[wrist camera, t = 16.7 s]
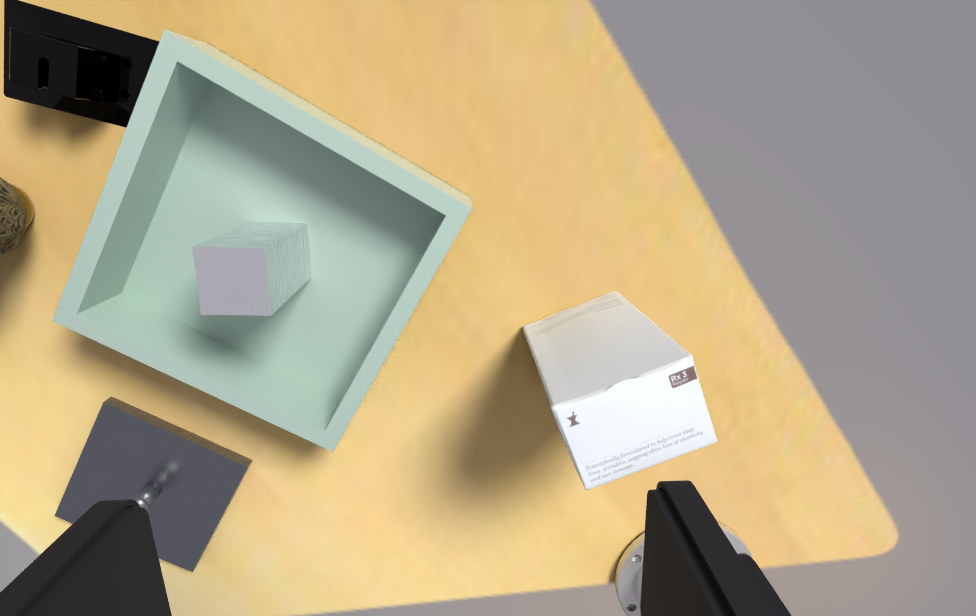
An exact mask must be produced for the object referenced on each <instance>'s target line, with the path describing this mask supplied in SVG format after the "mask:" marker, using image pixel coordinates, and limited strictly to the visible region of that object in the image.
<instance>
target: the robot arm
mask: <svg viewBox="0 0 976 616" xmlns="http://www.w3.org/2000/svg"><path fill="white" fill-rule="evenodd" d="M615 585H616V592H617V595H618V598H619V601H620V604H621V606H622V608H623V610H624V612H625V613H626V614H627V615H628V616H791V614H790V613H789V611H788V610H787V608H786V607H785V606H784V604H783V602H782V601H781V600H780V598H779V596H778V595H777V593H776V592H775V591H774V589H773V587H772V586H771V584H770V583H769V582H768V580H767V578H766V577H765V575H764V574H763V573H762V571H761V569H760V568H759V567H758V565H757V564H756V562H755V561H754V560H753V559H752V555H751V553H750V552H749V550H748V548H747V547H746V545H745V543H744V542H743V541H742V540H741V538H740V537H739V536H738V535H737V534H736V533H735V532H734V531H732V530H731V529H730V528H728V527H726V526H724V525H722V524H720V523H718V522H717V521H716V519H715V518H714V516H713V515H712V513H711V511H710V510H709V508H708V507H707V505H706V504H705V502H704V500H703V499H702V497H701V496H700V494H699V493H698V491H697V490H696V488H695V486H694V485H693V484H692V482H691V481H660V482H659V483H658V485H657V489H656V490H649V491H648V494H647V506H646V521H645V532H644V533H643V534H642V535H640V536H639V537H638V538H637V539H636V540H634V541H633V542H632V543H631V545H630V546H629V547H628V548H627V549H626V550H625V552H624V554H623V556H622V557H621V559H620V561H619V564H618V567H617V570H616V577H615ZM0 616H172V615H171V611H170V607H169V602H168V598H167V594H166V589H165V585H164V580H163V576H162V572H161V567H160V563H159V558H158V554H157V550H156V545H155V541H154V537H153V532H152V528H151V523H150V519H149V515H148V512H147V510H146V509H145V508H143V507H140V506H139V504H138V503H137V501H135V500H132V499H128V500H102V501H98V502H97V503H95V504H94V505H93V506H92V507H91V508H89V509H88V510H87V511H86V512H85V513H84V514H83V515H82V516H81V517H80V518H79V519H78V520H77V521H76V522H75V523H74V524H72V525H71V526H70V527H69V528H68V529H67V530H66V531H65V532H64V533H63V534H62V535H61V536H60V537H59V538H58V539H57V540H56V541H54V542H53V543H52V544H51V545H50V546H49V547H48V548H47V549H46V550H45V551H44V552H43V553H42V554H41V555H40V556H39V557H38V558H37V559H36V560H34V561H33V563H31V564H30V565H29V566H28V567H27V568H26V569H25V570H24V571H23V572H22V573H21V574H20V575H18V576H17V577H16V578H15V579H14V580H13V581H12V582H11V583H10V584H9V585H8V586H7V587H6V588H5V589H4V590H3V591H2V592H0Z"/></svg>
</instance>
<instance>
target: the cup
mask: <svg viewBox="0 0 976 616" xmlns="http://www.w3.org/2000/svg"><path fill="white" fill-rule="evenodd" d="M33 215H34V209H33V205H32V202H31V200H30V198H29V197H28V196H27V194H26V193H25V192H24V191H22V190H21V189H20V188H18V187H16V186H14V185H12V184H10V183H7V182H6V181H5V180H4V179H2V178H1V177H0V258H1V257H3V256H5V255H6V254H8V253H9V252H10V251H12V250H13V249H14V248H15V247H16V246H17V245H18V244H19V243H20V241H21V240H22V238H23V236H24V234H25V231H26V227H27V226H28V225H29V224H30V223H31V221H32V219H33Z"/></svg>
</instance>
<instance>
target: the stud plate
mask: <svg viewBox="0 0 976 616" xmlns="http://www.w3.org/2000/svg"><path fill="white" fill-rule="evenodd" d="M251 462H252V460H251V459H248V458H246V457H244V456H242V455H239V454H237V453H235V452H233V451H231V450H228V449H226V448H224V447H222V446H220V445H217V444H215V443H213V442H211V441H208V440H206V439H204V438H202V437H200V436H197V435H195V434H193V433H191V432H188V431H186V430H184V429H182V428H180V427H177V426H175V425H173V424H171V423H169V422H166V421H164V420H162V419H160V418H157V417H155V416H153V415H151V414H149V413H146V412H144V411H142V410H140V409H138V408H135V407H133V406H131V405H129V404H126V403H124V402H122V401H120V400H118V399H115V398H113V397H110V398H109V399H107V400H106V401H105V402H103V405H102V407H101V409H100V412H99V414H98V416H97V419H96V421H95V423H94V426H93V428H92V430H91V433H90V435H89V437H88V439H87V442H86V444H85V446H84V449H83V451H82V453H81V456H80V458H79V460H78V463H77V465H76V467H75V470H74V472H73V474H72V477H71V479H70V481H69V484H68V486H67V488H66V491H65V493H64V495H63V497H62V500H61V502H60V504H59V507H58V509H57V511H56V514H55V516H56V517H59V518H61V519H64V520H66V521H69V522H71V523H75V522H76V521H77V520H78V519H79V518H80V517H81V516H82V515H83V514H84V513H85V512H86V511H87V510H88V509H89V508H91V507H92V506H93V505H94V504H95V503H97V502H98V501H102V500H128V499H132V500H135V501H137V503H138V504H139V506H140V507H143V508H145V509H146V510H147V512H148V515H149V519H150V523H151V528H152V532H153V537H154V541H155V545H156V550H157V554H158V558H160V559H163V560H165V561H168V562H170V563H172V564H175V565H177V566H180V567H182V568H185V569H187V570H190V571H192V572H193V570H194V569H195V567H196V566H197V564H198V562H199V560H200V559H201V557H202V555H203V553H204V551H205V549H206V547H207V545H208V543H209V542H210V540H211V538H212V536H213V534H214V532H215V530H216V528H217V526H218V525H219V523H220V521H221V519H222V517H223V515H224V513H225V511H226V509H227V508H228V506H229V504H230V502H231V500H232V498H233V496H234V494H235V492H236V491H237V489H238V487H239V485H240V483H241V481H242V479H243V477H244V476H245V474H246V472H247V470H248V468H249V466H250V464H251Z"/></svg>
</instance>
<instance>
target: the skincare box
mask: <svg viewBox="0 0 976 616" xmlns="http://www.w3.org/2000/svg"><path fill="white" fill-rule="evenodd" d="M523 331H524V334H525V337H526V339H527V342H528V345H529V347H530V350H531V353H532V355H533V358H534V361H535V363H536V366H537V369H538V371H539V374H540V377H541V380H542V382H543V385H544V388H545V391H546V394H547V396H548V399H549V402H550V406H551V410H552V412H553V415H554V417H555V420H556V423H557V425H558V428H559V430H560V433H561V435H562V438H563V440H564V442H565V445H566V447H567V449H568V452H569V454H570V456H571V459H572V461H573V463H574V466H575V468H576V470H577V472H578V474H579V476H580V479H581V481H582V483H583V485H584V487H585V489H586V490H589V489H592V488H595V487H597V486H600V485H603V484H605V483H608V482H611V481H613V480H616V479H619V478H621V477H624V476H627V475H629V474H632V473H635V472H637V471H640V470H643V469H645V468H648V467H651V466H654V465H656V464H659V463H662V462H665V461H667V460H670V459H673V458H675V457H678V456H681V455H683V454H686V453H689V452H691V451H694V450H697V449H700V448H702V447H705V446H708V445H711V444H713V443H716V442H717V439H716V436H715V432H714V429H713V426H712V423H711V419H710V416H709V413H708V410H707V407H706V403H705V400H704V396H703V393H702V389H701V386H700V382H699V379H698V375H697V372H696V368H695V365H694V361H693V358H692V355H690V354H689V353H688V352H687V351H686V350H684V349H683V348H682V347H681V346H680V345H679V344H677V343H676V342H675V341H674V340H673V339H672V338H671V337H669V336H668V335H667V334H666V333H665V332H663V331H662V330H661V329H660V328H659V327H658V326H657V325H655V324H654V323H653V322H652V321H651V320H650V319H649V318H647V317H646V316H645V315H644V314H643V313H641V312H640V311H639V310H638V309H637V308H636V307H634V306H633V305H632V304H631V303H630V302H629V301H627V300H626V299H625V298H624V297H623V296H622V295H621V294H619V293H618V292H617V291H613V292H610V293H607V294H605V295H602V296H600V297H597V298H594V299H592V300H589V301H586V302H584V303H581V304H578V305H576V306H573V307H570V308H568V309H565V310H563V311H560V312H558V313H555V314H552V315H550V316H548V317H545V318H543V319H541V320H539V321H536V322H533V323H530V324H527V325H524V326H523Z"/></svg>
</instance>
